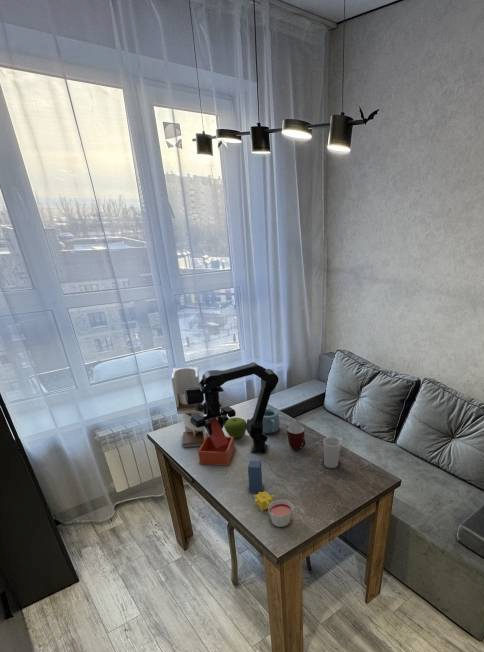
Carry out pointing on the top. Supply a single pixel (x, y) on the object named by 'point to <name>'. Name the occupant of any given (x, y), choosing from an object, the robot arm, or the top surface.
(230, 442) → the red bin
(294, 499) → the top surface
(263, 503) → the toy block
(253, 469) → the blue block
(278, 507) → the candle
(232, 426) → the apple
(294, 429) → the mug
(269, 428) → the mug
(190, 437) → the arched white lantern
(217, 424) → the red block
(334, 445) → the cup
